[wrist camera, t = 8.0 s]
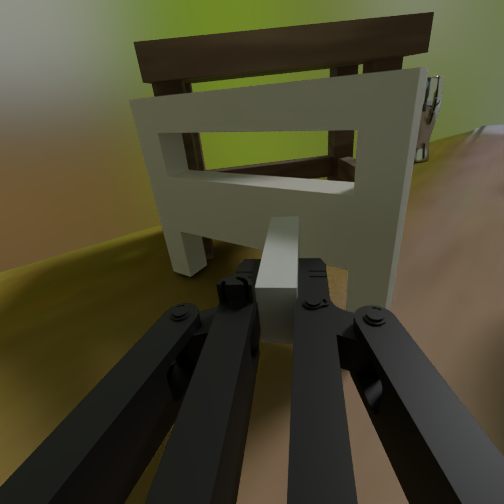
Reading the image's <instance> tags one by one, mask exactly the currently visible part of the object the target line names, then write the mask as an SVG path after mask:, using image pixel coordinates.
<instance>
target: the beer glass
mask: <svg viewBox="0 0 504 504" xmlns="http://www.w3.org/2000/svg"><path fill="white" fill-rule="evenodd" d="M444 77H445V75H435V76H427V82H426V88H425V95H424V101H423V107H422V114H421V120H420V126H419V133H418V139H417V145H416V152H415V158H414V163H417V162H424V161H427V160H428V159H429V140H430V136H431V133H432V130H433V127H434V125H435V122H436V119H437V116H438V113H439V110H440V106H441V101H442V95H443V87H444Z"/></svg>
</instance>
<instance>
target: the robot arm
mask: <svg viewBox="0 0 504 504" xmlns="http://www.w3.org/2000/svg"><path fill="white" fill-rule="evenodd" d="M216 285H217V291H218V296H219V301H220V303H219V306H218V307H215V308H212V309H209V310H204V311H199V310H198V308H197V307H196V306H195V305H193V304H191V303H183V304H178V305H175V306H173V307H171V308H170V309H169V310H167V311H166V312H165V313H164V314H163V315H162V316H161V317H160V319H159V320H158V321H157V322H156V323H155V324H154V325H153V326H152V327H151V328H150V329H149V330H148V331H147V332H146V333H145V334H144V335H143V336H142V338H141V339H140V340H139V341H138V342H137V343H136V344H135V345H134V346H133V347H132V348H131V349H130V350H129V351H128V352H127V353H126V354H125V356H124V357H123V358H122V359H121V360H120V361H119V362H118V363H117V364H116V365H115V366H114V367H113V368H112V369H111V370H110V371H109V372H108V374H107V375H106V376H105V377H104V378H103V379H102V380H101V381H100V382H99V383H98V384H97V385H96V386H95V387H94V388H93V389H92V390H91V392H90V393H89V394H88V395H87V396H86V397H85V398H84V399H83V400H82V401H81V402H80V403H79V404H78V405H77V406H76V407H75V408H74V410H73V411H72V412H71V413H70V414H69V415H68V416H67V417H66V418H65V419H64V420H63V421H62V422H61V423H60V424H59V425H58V426H57V427H56V429H55V430H54V431H53V432H52V433H51V434H50V435H49V436H48V437H47V438H46V439H45V440H44V441H43V442H42V443H41V444H40V445H39V447H38V448H37V449H36V450H35V451H34V452H33V453H32V454H31V455H30V456H29V457H28V458H27V459H26V460H25V461H24V462H23V463H22V465H21V466H20V467H19V468H18V469H17V470H16V471H15V472H14V473H13V474H12V475H11V476H10V477H9V478H8V479H7V480H6V481H5V483H4V484H3V485H2V486H1V487H0V504H124V502H125V501H126V499H127V498H128V496H129V494H130V493H131V491H132V490H133V488H134V486H135V485H136V483H137V482H138V480H139V478H140V477H141V475H142V474H143V472H144V470H145V469H146V467H147V465H148V464H149V462H150V461H151V459H152V457H153V456H154V454H155V453H156V451H157V449H158V448H159V446H160V445H161V443H162V441H163V440H164V438H165V437H166V435H167V433H168V432H169V430H170V429H171V427H172V425H173V424H174V422H175V424H174V427H173V429H172V432H171V435H170V437H169V440H168V443H167V445H166V448H165V451H164V453H163V456H162V459H161V461H160V464H159V467H158V470H157V472H156V475H155V478H154V480H153V483H152V486H151V488H150V491H149V494H148V496H147V499H146V502H145V504H236V502H237V495H238V489H239V483H240V476H241V470H242V463H243V457H244V451H245V444H246V438H247V431H248V425H249V418H250V412H251V406H252V399H253V393H254V386H255V380H256V373H257V367H258V361H259V354H260V351H259V338H261V343H283V344H293V368H292V392H291V417H290V442H289V467H288V492H287V504H358V503H357V495H356V487H355V479H354V472H353V464H352V456H351V448H350V440H349V432H348V424H347V416H346V408H345V400H344V392H343V384H342V377H341V369H340V368H342V369H345V370H348V371H350V374H351V377H352V379H353V381H354V384H355V386H356V388H357V390H358V392H359V395H360V397H361V399H362V401H363V403H364V405H365V408H366V410H367V412H368V414H369V416H370V419H371V421H372V423H373V425H374V427H375V430H376V432H377V434H378V436H379V438H380V441H381V443H382V445H383V447H384V449H385V452H386V454H387V456H388V458H389V460H390V463H391V465H392V467H393V469H394V471H395V474H396V476H397V478H398V480H399V482H400V485H401V487H402V489H403V491H404V493H405V496H406V498H407V500H408V502H409V504H504V457H503V455H502V454H501V453H500V452H499V450H498V449H497V448H496V446H495V445H494V444H493V442H492V441H491V440H490V439H489V437H488V436H487V435H486V433H485V432H484V431H483V429H482V428H481V427H480V426H479V424H478V423H477V422H476V420H475V419H474V418H473V416H472V415H471V414H470V413H469V411H468V410H467V409H466V407H465V406H464V405H463V403H462V402H461V401H460V400H459V398H458V397H457V396H456V394H455V393H454V392H453V390H452V389H451V388H450V387H449V385H448V384H447V383H446V381H445V380H444V379H443V378H442V376H441V375H440V374H439V372H438V371H437V370H436V368H435V367H434V366H433V365H432V363H431V362H430V361H429V359H428V358H427V357H426V355H425V354H424V353H423V352H422V350H421V349H420V348H419V346H418V345H417V344H416V342H415V341H414V340H413V339H412V337H411V336H410V335H409V333H408V332H407V331H406V329H405V328H404V327H403V326H402V324H401V323H400V322H399V320H398V319H397V318H396V316H395V315H394V314H393V313H392V312H390V311H389V310H387V309H385V308H383V307H379V306H375V305H366V306H363V307H360V308H359V309H357V310H356V311H355V313H353V312H348V311H345V310H342V309H340V308H338V307H336V306H335V305H334V304H333V303H332V302H331V300H330V296H329V288H328V280H327V272H326V264H325V263H324V262H323V261H322V259H321V258H300V242H299V216H287V217H271V220H270V224H269V229H268V233H267V237H266V242H265V246H264V250H263V254H262V259H245V260H244V261H243V262H242V263H241V264H240V265H239V266H238V269H237V273H236V275H230V276H227V277H224V278H223V279H221V280H220V281H219V282H218V283H217V284H216Z"/></svg>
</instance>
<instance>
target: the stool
mask: <svg viewBox="0 0 504 504" xmlns="http://www.w3.org/2000/svg"><path fill="white" fill-rule="evenodd" d="M433 15H434V12H429V13H419V14H409V15H399V16H390V17H380V18H369V19H359V20H349V21H340V22H329V23H320V24H310V25H300V26H290V27H279V28H269V29H260V30H249V31H239V32H230V33H219V34H209V35H199V36H189V37H179V38H170V39H159V40H150V41H140V42H134V46H135V50H136V54H137V59H138V63H139V68H140V72H141V76H142V80H143V83H151V84H152V87H153V92H154V96H155V97H157V96H166V95H175V94H184V93H193V92H192V86H191V83H199V82H208V81H217V80H227V79H236V78H244V77H255V76H264V75H273V74H283V73H292V72H301V71H310V70H319V69H329V68H330V77H338V76H347V75H356V74H358V65H360V64H363V74H365V73H374V72H383V71H393V70H402V63H403V57H404V56H409V55H415V54H420V53H426V52H428V47H429V41H430V35H431V28H432V21H433ZM182 138H183V143H184V148H185V153H186V159H187V164H188V169H189V170H198V171H211V172H225V173H238V174H251V175H265V176H278V177H291V178H304V179H312V178H320V177H327V180H331V181H344V182H354V180H355V165H356V159H354V158H353V142H354V130H332V131H328V155H327V156H318V157H310V158H302V159H293V160H285V161H277V162H270V163H261V164H253V165H244V166H236V167H228V168H220V169H213V170H206V169H205V163H204V158H203V151H202V145H201V140H200V134H199V132H196V133H182ZM202 241H203V246H204V251H205V256H206V260H207V259H214V248H213V242H212V239H211V238H207V237H202Z"/></svg>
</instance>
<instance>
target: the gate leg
mask: <svg viewBox="0 0 504 504" xmlns="http://www.w3.org/2000/svg"><path fill="white" fill-rule="evenodd" d="M428 69H429V67H420V68H411V69H402V70H393V71H383V72H374V73H365V74H356V75H347V76H338V77H329V78H320V79H312V80H302V81H293V82H285V83H275V84H266V85H258V86H248V87H239V88H231V89H221V90H212V91H203V92H194V93H184V94H175V95H166V96H157V97H148V98H139V99H130V100H129V102H130V106H131V110H132V114H133V118H134V122H135V125H136V129H137V133H138V137H139V141H140V145H141V149H142V153H143V156H144V160H145V164H146V168H147V172H148V175H149V179H150V183H151V187H152V191H153V195H154V199H155V202H156V206H157V210H158V214H159V218H160V222H161V225H162V229H163V233H164V237H165V241H166V245H167V248H168V252H169V256H170V260H171V264H172V268H173V271H174V272H177V273H180V274H184V275H187V276H190V277H191V276H193V275H194V274H195V273H197V272H198V271H200V270H201V269H202V268H204V267H205V266H207V261H206V256H205V251H204V246H203V241H202V237H207V238H211V239H215V240H220V241H224V242H229V243H233V244H237V245H242V246H246V247H250V248H255V249H259V250H264V246H265V242H266V237H267V233H268V229H269V224H270V220H271V217H287V216H299V242H300V258H321V259H322V261H323V262H324V263H325V264H326V265H329V266H333V267H338V268H342V269H346V270H348V284H347V299H346V311H348V312H353V313H355V311H356V310H357V309H359V308H360V307H363V306H366V305H375V306H379V307H383V308H385V309H387V310H389V311H391V304H392V298H393V292H394V285H395V279H396V273H397V266H398V260H399V254H400V247H401V241H402V234H403V228H404V222H405V215H406V209H407V203H408V196H409V190H410V184H411V177H412V171H413V164H414V158H415V152H416V145H417V139H418V133H419V126H420V120H421V114H422V107H423V101H424V95H425V88H426V82H427V74H428ZM324 130H325V131H326V130H327V131H332V130H358V136H357V150H356V165H355V180H354V182H344V181H331V180H318V179H304V178H291V177H278V176H265V175H251V174H238V173H225V172H211V171H198V170H189V169H188V164H187V159H186V153H185V148H184V143H183V138H182V133H196V132H260V131H261V132H263V131H324Z"/></svg>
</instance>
